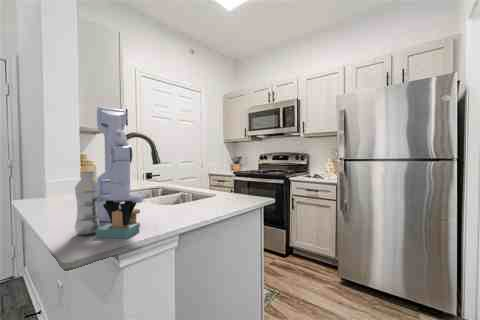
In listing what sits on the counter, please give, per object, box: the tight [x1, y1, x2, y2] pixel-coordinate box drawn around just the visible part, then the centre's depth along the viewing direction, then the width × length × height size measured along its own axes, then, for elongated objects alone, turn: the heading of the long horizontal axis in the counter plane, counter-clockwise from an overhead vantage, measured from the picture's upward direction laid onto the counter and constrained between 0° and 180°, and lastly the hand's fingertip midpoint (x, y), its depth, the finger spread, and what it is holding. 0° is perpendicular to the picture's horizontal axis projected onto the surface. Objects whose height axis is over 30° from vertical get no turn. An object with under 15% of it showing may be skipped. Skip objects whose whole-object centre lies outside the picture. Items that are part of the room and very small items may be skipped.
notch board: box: [95, 222, 140, 239], centre depth 71 cm, size 10×7×2 cm
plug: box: [112, 208, 129, 228], centre depth 72 cm, size 4×4×7 cm
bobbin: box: [129, 208, 141, 228], centre depth 78 cm, size 6×6×6 cm
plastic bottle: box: [74, 171, 101, 236], centre depth 71 cm, size 6×7×20 cm
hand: (120, 224), depth 72 cm, fingers closed on plug, 3 cm apart
